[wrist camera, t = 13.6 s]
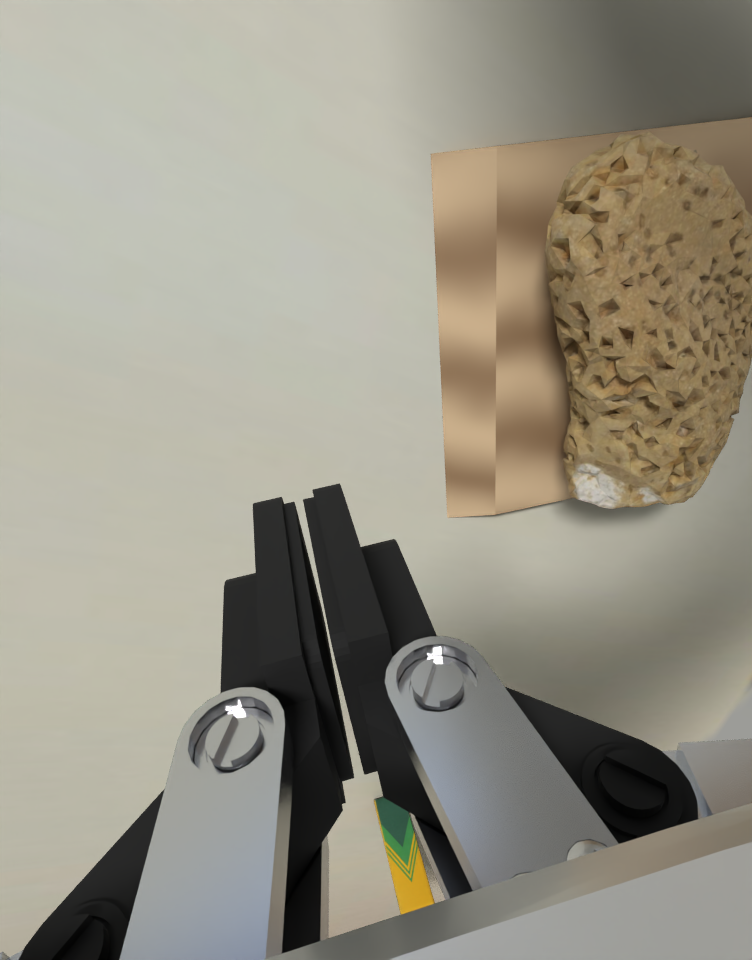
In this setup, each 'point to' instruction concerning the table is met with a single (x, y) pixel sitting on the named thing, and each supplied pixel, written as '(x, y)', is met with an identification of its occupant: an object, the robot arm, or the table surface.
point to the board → (519, 309)
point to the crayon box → (403, 857)
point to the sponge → (649, 318)
